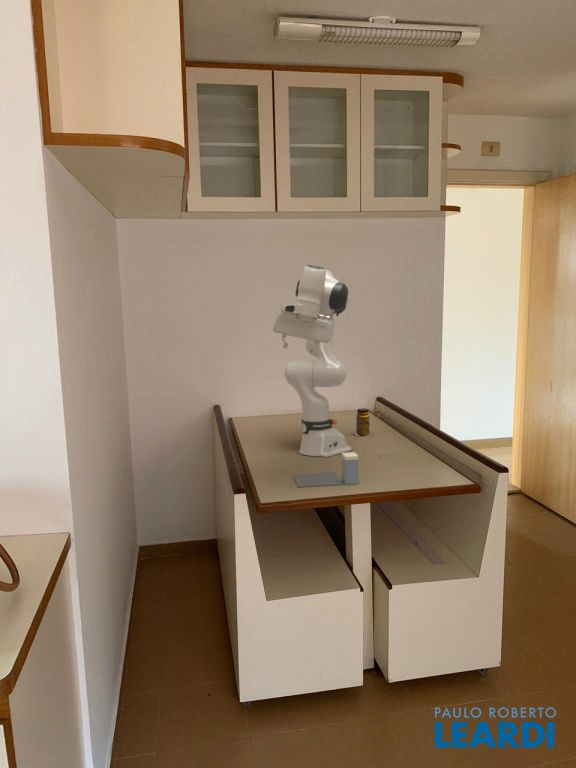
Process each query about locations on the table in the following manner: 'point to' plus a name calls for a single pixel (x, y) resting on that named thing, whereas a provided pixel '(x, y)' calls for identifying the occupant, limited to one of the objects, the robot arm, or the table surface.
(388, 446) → the table surface
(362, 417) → the condiment
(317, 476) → the mat
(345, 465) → the box
